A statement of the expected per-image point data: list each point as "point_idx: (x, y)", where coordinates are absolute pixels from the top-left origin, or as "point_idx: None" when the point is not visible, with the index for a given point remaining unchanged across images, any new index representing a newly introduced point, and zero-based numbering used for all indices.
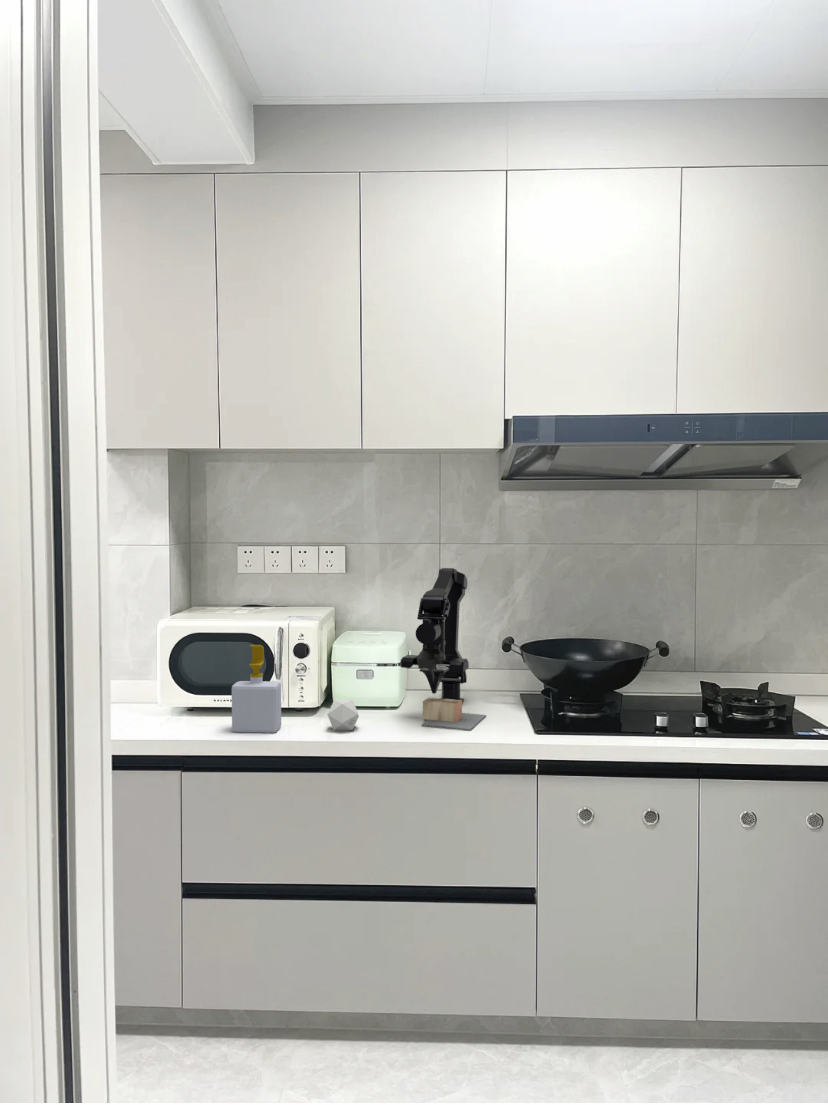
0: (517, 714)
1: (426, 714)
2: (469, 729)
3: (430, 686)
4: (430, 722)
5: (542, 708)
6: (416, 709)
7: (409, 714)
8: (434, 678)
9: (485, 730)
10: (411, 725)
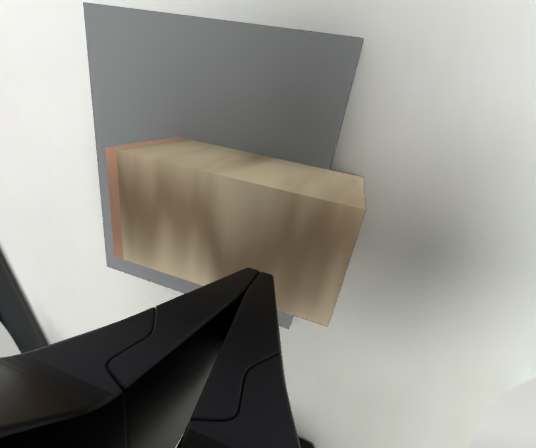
0: (43, 291)
1: (337, 177)
2: (90, 3)
3: (270, 309)
4: (309, 101)
5: (18, 346)
6: (405, 377)
7: (446, 297)
8: (146, 363)
9: (44, 41)
10: (437, 46)
